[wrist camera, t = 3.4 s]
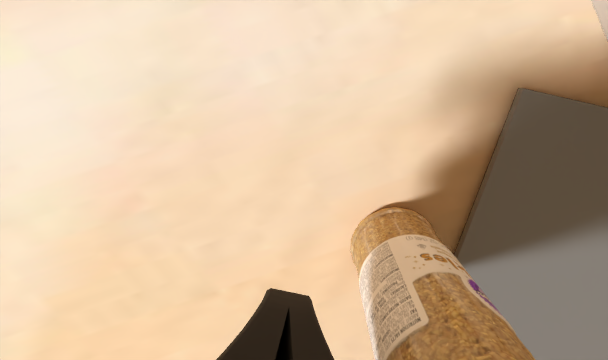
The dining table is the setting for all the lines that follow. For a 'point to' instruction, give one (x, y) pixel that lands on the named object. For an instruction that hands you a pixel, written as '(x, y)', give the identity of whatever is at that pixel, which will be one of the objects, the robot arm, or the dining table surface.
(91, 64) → the dining table surface
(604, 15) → the lumpy-topped squat cylinder
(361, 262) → the sprinkles bottle
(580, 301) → the rubber mat
